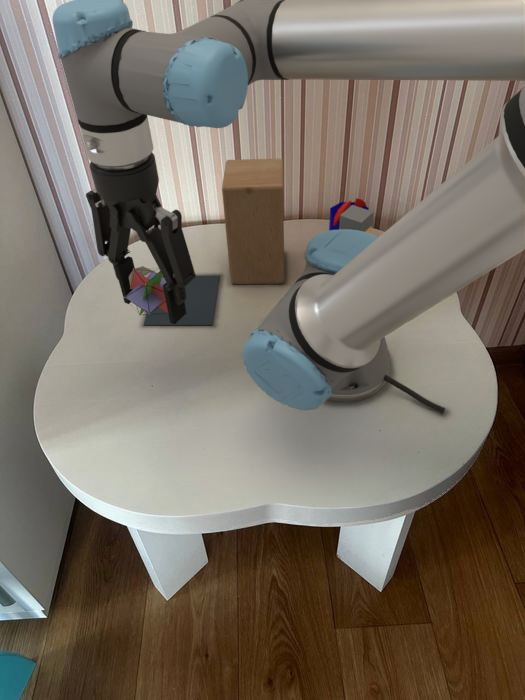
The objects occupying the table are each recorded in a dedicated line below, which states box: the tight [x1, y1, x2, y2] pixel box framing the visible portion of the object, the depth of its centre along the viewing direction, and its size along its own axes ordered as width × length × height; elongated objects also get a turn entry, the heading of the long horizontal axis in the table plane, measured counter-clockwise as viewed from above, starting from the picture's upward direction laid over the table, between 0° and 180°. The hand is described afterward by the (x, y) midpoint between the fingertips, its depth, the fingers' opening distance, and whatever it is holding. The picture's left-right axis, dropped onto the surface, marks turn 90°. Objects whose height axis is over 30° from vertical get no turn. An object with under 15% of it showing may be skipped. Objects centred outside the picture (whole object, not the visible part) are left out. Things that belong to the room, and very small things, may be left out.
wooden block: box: [221, 158, 285, 285], centre depth 101 cm, size 10×10×20 cm
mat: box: [143, 275, 221, 327], centre depth 102 cm, size 14×12×1 cm
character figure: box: [339, 205, 374, 234], centre depth 94 cm, size 8×10×18 cm
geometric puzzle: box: [123, 265, 168, 317], centre depth 79 cm, size 7×7×8 cm
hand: (155, 307), depth 81 cm, fingers closed on geometric puzzle, 8 cm apart
